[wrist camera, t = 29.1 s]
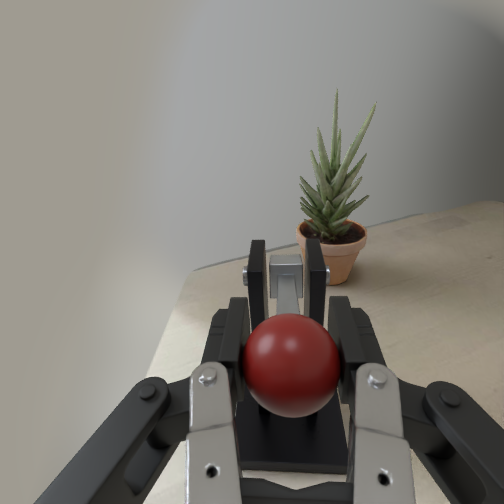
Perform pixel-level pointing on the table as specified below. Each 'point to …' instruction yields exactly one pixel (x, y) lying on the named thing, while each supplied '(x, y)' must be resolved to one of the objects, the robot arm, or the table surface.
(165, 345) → the table surface
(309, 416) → the lever stand
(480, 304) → the table surface
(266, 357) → the lever handle
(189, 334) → the table surface
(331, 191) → the potted plant
